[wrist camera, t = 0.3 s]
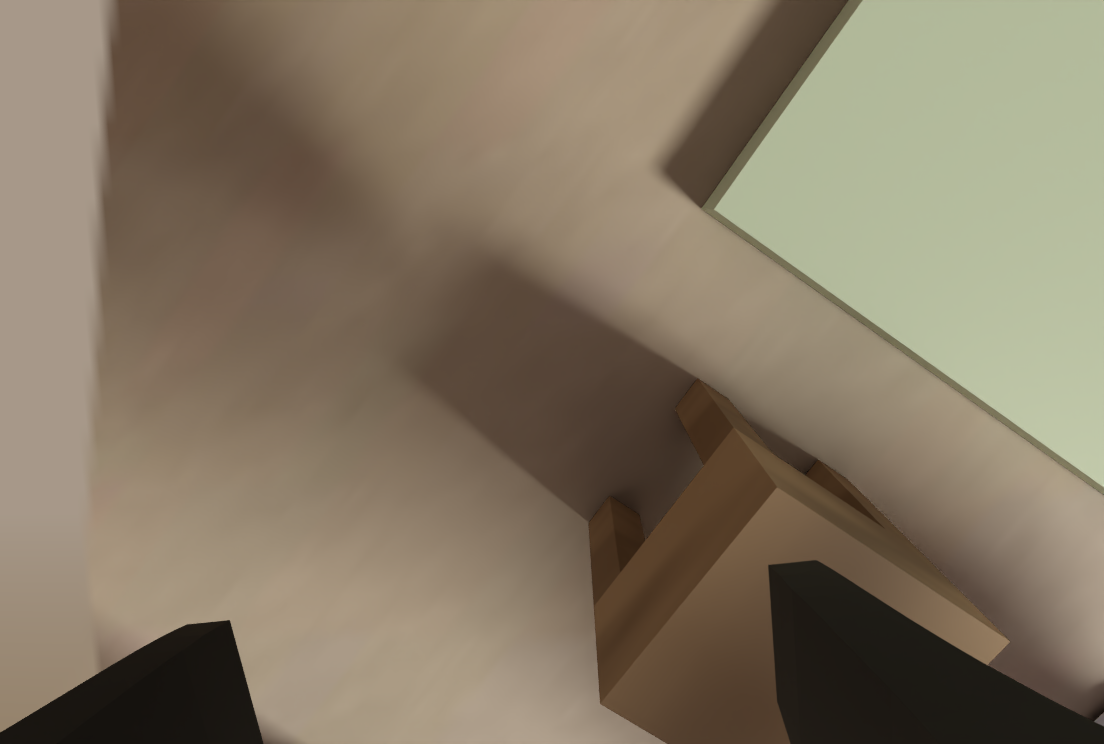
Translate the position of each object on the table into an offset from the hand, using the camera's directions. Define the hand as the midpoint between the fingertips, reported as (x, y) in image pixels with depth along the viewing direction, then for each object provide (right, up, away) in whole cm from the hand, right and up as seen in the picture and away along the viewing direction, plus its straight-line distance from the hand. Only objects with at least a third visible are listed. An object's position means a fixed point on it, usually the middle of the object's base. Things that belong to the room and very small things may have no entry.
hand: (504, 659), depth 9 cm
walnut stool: (+5, 0, +10) cm, 11 cm away
